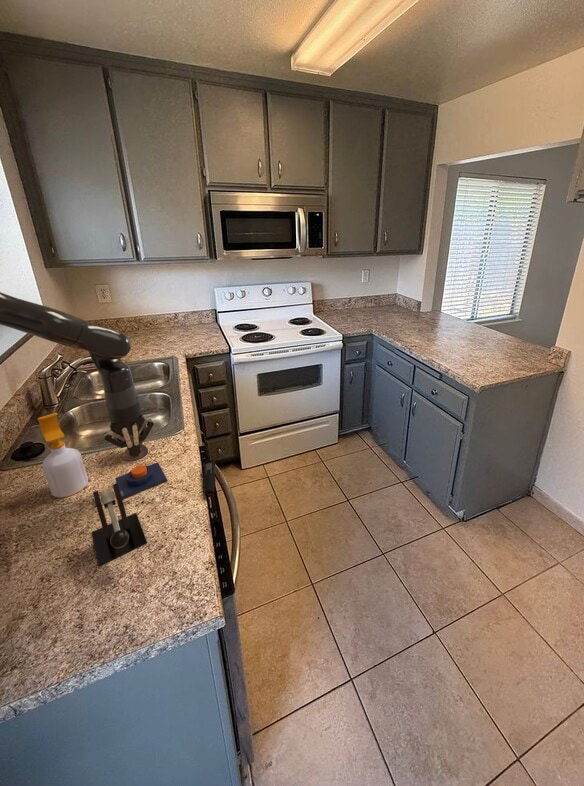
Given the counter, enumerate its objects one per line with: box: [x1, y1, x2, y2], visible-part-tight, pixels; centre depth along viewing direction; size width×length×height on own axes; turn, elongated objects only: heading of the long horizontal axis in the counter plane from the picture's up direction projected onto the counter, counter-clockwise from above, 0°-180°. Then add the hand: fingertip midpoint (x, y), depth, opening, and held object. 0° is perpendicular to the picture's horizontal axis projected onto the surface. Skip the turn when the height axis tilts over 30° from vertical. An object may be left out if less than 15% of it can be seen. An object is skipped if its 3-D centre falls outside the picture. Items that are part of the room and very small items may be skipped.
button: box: [130, 464, 147, 479], centre depth 105 cm, size 4×4×2 cm
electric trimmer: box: [202, 458, 217, 495], centre depth 107 cm, size 4×16×3 cm, turn 16°
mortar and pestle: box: [116, 423, 149, 462], centre depth 118 cm, size 12×9×20 cm
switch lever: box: [100, 489, 129, 548], centre depth 80 cm, size 13×4×4 cm, turn 38°
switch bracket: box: [91, 482, 148, 568], centre depth 84 cm, size 12×10×15 cm
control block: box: [114, 462, 168, 501], centre depth 105 cm, size 12×10×4 cm
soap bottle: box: [37, 412, 89, 498], centre depth 101 cm, size 9×9×25 cm
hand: (135, 455), depth 102 cm, fingers closed
